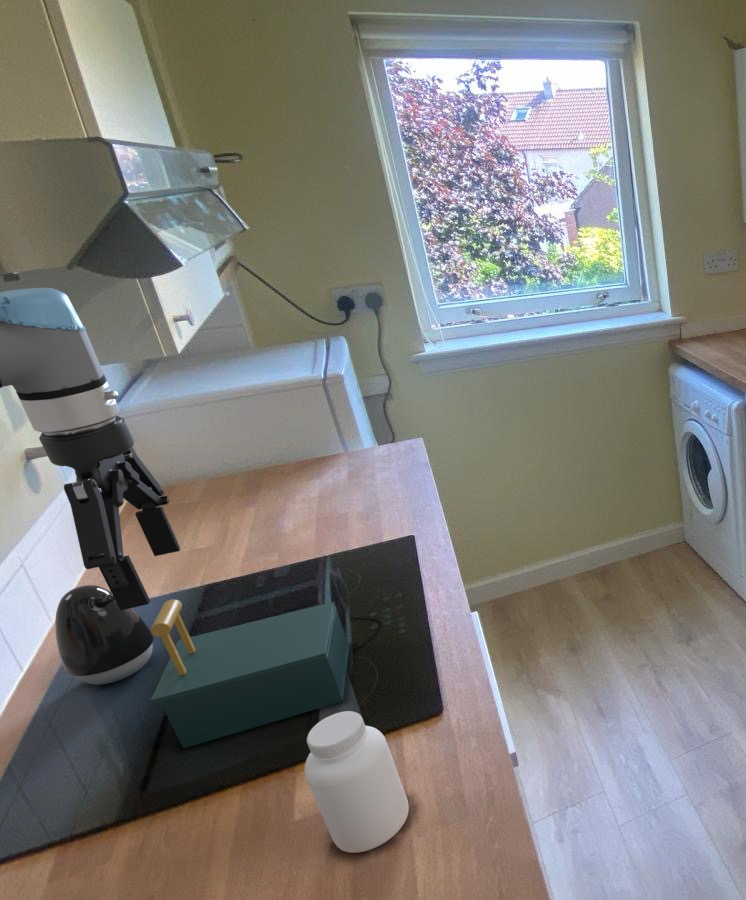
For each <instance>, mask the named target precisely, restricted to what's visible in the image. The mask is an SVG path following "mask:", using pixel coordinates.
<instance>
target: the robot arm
mask: <svg viewBox="0 0 746 900" xmlns="http://www.w3.org/2000/svg"><path fill="white" fill-rule="evenodd" d="M107 380H108V379H107V377H106V375H105V373H104V371H103V368H102V366H101V363H100V362H99V359H98V356H97V354H96V351H95V349H94V347H93V345H92V341H91V340H90V337H89V335H88V333H87V330H86V326H85V325H84V324H83V323H82V321H81V319H80V317H79V315H78V314H77V311H76V310H75V307H74V305H73V303H72V301H71V299H70V298H69V296H68V295H67V294H66V293H65V292H63V291H61V290H58V289H56V288H52V287H31V288H20V289H12V290H10V289H9V290H4V291H0V389H1V388H4V387H8V386H9V387H10V386H12V387H13V389H14V390H15V394H16V395H17V397H18V400H19V402H20V404H21V407H22V408H23V410H24V412H25V415H26V417H27V418H28V420H29V421H28V422H30V425H31V427H32V429H33V430H34V431H35V432H37V433H41V434H40V435H39V436H38V440H39V441H40V443H41V444H40V445H42V448H43V450H44V451H45V454H46V456H47V458H48V459H49V462H50V463H51V464H53V465H54V466H58V467H68V468H70V469H73V470H74V473H75V482H69V483H64V484H63V490H64V493H65V495H66V498H67V500H68V502H69V504H70V509H71V513H72V518H73V522H74V527H75V532H76V535H77V540H78V545H79V549H80V554H81V558H82V562H83V566H84V568H85V569H86V570H91V569H96V568H98V569H99V571H100V573H101V575H102V577H103V579H104V580H105V583H106V585H107V587H108V590H109V591H111V593H112V595H113V597H114V599H115V601H116V603H117V605H118V607H119V609H120V611H121V610H125V609H129V608H132V609H134V608H137V607H143V606H146V605H149V604H150V603H151V599H150V597H149V595H148V593H147V591H146V589H145V586H144V585H143V583H142V580H141V578H140V576H139V574H138V571H137V570H136V568H135V566H134V564H133V562H132V559H131V557H130V555H129V554H128V555H124V546H123V545H124V544H123V535H122V526H121V517H120V507H121V506H123V505H124V500H125V501H126V502H128V503H129V504H130V505H131V506H133V507H134V508H135V509H137V510H138V511H136V512H135V514H134V515H135V517H136V519H137V521H138V523H139V526H140V528H141V530H142V532H143V535H144V537H145V539H146V541H147V543H148V545H149V548H150V550H151V552H152V554H153V556H154V557H158V556H164V555H168V554H173V553H178V552H180V550H181V547H180V544H179V541H178V540H177V537H176V535H175V533H174V530H173V528H172V525H171V523H170V521H169V519H168V517H167V515H166V512H165V510H164V507H163V506H165V505H169V504H170V500H169V497H168V495H165V490H164V489H163V487H162V486H161V485H160V483H159V482H158V480H157V479H156V478H155V476H153V474H152V473H151V471H150V470H149V469H148V467H147V466H146V465H145V463H144V462H143V461H142V460H141V458H140V457H139V456H138V455H137V453H136V451H135V449H134V445H135V440H134V438H133V435H132V433H131V431H130V428H129V426H128V425H127V422H126V420H125V418H124V417H121V416H118V415H119V414H120V412H121V410H120V408H119V405H118V403H117V399H118V398H119V393H118V392H117V391H116V390H111V388H110V384H109V383H108V381H107Z"/></svg>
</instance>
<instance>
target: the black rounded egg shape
mask: <svg viewBox="0 0 746 900" xmlns="http://www.w3.org/2000/svg"><path fill="white" fill-rule="evenodd" d="M54 624H55V625H54V628H55V631H54V632H55V642H56V647H57V652H58V655H59V660H60V663H61V665H62V667H63V669H64V671H65V673H67V674H68V675H70V676H73V678H75V679H76V680H78V681H80V682H82V683H85V684H90V685H107V684H113V683H115V682H119V681H122V680H125V679H126V678H128V677H131V676H132V675H134V674H135V673H137V672H138V671H140V670H141V669H142V668H143V667H144V666H145V665H146V664H147V663H148V661H149V660H150V658H151V656H152V653H153V648H154V647H153V643H154V637H155V636H154V635H153V634H152V633H151V628H150V627H149V625H147V623H146V622H145V621H144V619H143V618H142V617H141V616H140V615H139V614H138V612H137V611H135V610H134V608H129V609H125V610H121V611H120V609H119V607H118V605H117V603H116V601H115V599H114V597H113V595H112V593H111V591H110V589H107V588H105V587H103V586H100V585H95V584H85V585H79V586H77V587H74V588H72V589H70V590H69V591H67V592H66V593H65V594H64V595H62V597H61V598H60V600H59V602H58V605H57V607H56V611H55V620H54Z"/></svg>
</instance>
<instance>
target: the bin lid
mask: <svg viewBox="0 0 746 900" xmlns="http://www.w3.org/2000/svg"><path fill="white" fill-rule="evenodd" d="M335 607H336V604H335V601H331V602H327V603H324V604H319V605H315V606H311V607H306V608H303V609H299V610H295V611H291V612H287V613H283V614H279V615H275V616H274V615H273V616H270V617H266V618H262V619H258V620H254V621H250V622H246V623H241V624H239V625H234V626H229V627H226V628H222V629H217V630H214V631H209V632H206V633H202V634H198V635H197V634H196V635H194V636H193V635H192V636H190V634H189V632H188V629H187V627H186V625H185V623H184V620H183V618H182V617H181V614H180V613H181V611H182V608H183V603H182V602H181V601H180V600H178V599H173V598H172V599H168V600H166V601H165V602H164V603H163V604H162V606H161V608H160V611H158V614H157V616H156V618H155V620H154V622H153V624H151V625H152V626H151V628H150V631H151V633H152V634H153V636H154V637H160V639H161V640H162V642H163V644H164V647H165V649H166V651H167V653H168V655H169V660H168V662H167V664H166V666H165V668H164V670H163V673H162V675H161V677H160V678H159V681H158V683H157V685H156V687H155V690H154V692H153V693H152V696H151V699H150V702H151V704H152V705H153V706H156V705H158V704H161V703H162V702H166V701H169V700H173V699H177V698H180V697H184V696H188V695H191V694H195V693H199V692H202V691H206V690H210V689H213V688H217V687H221V686H224V685H228V684H232V683H235V682H239V681H243V680H246V679H250V678H254V677H257V676H261V675H265V674H268V673H272V672H276V671H280V670H283V669H287V668H291V667H294V666H298V665H302V664H305V663H309V662H313V661H316V660H320V659H324V658H327V654H328V648H329V642H330V636H331V629H332V623H333V617H334V611H335ZM174 625H175V627H176V630H177V633H178V634H179V636H180V638H181V639H178V640H177V642H176V643H174V641H173V639H172V637H171V635H170V633H171V631H172V629H173V627H174ZM175 644H176V645H175Z"/></svg>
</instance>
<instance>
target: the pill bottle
mask: <svg viewBox="0 0 746 900" xmlns="http://www.w3.org/2000/svg"><path fill="white" fill-rule="evenodd" d="M306 744H307V746H308V749H309V751H310V752H309V754H308V756H307V758H306V760H305V763H304V776H305V780H306V782H307V784H308V786H309V789H310V791H311V793H312V796H313V798H314V800H315V802H316V805H317V807H318V809H319V812H320V814H321V816H322V819H323V821H324V824H325V826H326V828H327V830H328V833H329V835H330V838H331V839H332V841H333V843H334V844H335V846H336V847H337V848H338V849H340V850H341V851H342V852H345V853H350V854H357V853H358V854H359V853H363V852H367V851H371V850H373V849H375V848H378V847H379V846H382V845H383V844H385V843H386V842H388V841H389V840H390V839H392V838H393V837H394V836H395V835H397V833H398V832H399V831H400V830H401V829H402V827H403V826H404V824H405V823H406V821H407V818H408V816H409V810H410V807H409V801H408V797H407V795H406V792H405V789H404V787H403V783H402V780H401V778H400V776H399V775H400V774H399V773H398V770H397V768H396V764H395V762H394V759H393V755H392V753H391V750H390V747H389V744H388V742H387V738H386V737H385V736H384V734H383V732H381V731H380V730H378V729H377V728H376V727H373V726H369V725H366V724H365V722H364V718H363V717H362V715H361V714H360V713H358V712H357V711H351V710H348V711H347V710H345V711H340V712H335V713H333V714H330V715H328V716H326V717H324V718H323V719H321V720H320V721H318V722H317V723H316V724H315V725H314V726H313V727H312V728H311V729H310V731H309V732H308V734H307V737H306Z"/></svg>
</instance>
